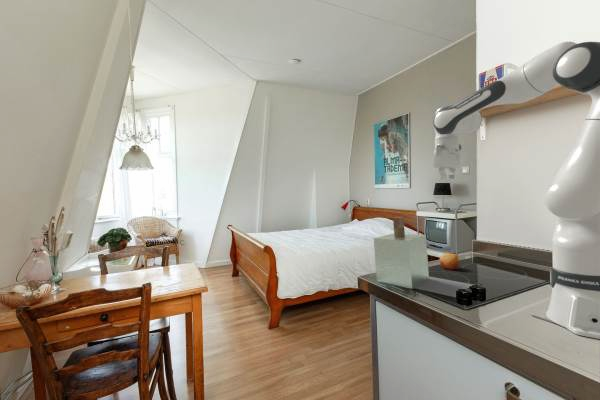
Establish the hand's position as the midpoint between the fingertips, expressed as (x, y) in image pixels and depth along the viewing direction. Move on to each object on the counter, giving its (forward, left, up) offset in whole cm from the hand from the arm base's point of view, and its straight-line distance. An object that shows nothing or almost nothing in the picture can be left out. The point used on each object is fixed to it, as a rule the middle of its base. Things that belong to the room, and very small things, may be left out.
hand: (447, 178), depth 118 cm
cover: (+12, +19, -41) cm, 47 cm away
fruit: (+4, -10, -41) cm, 43 cm away
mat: (-3, +17, -41) cm, 45 cm away
